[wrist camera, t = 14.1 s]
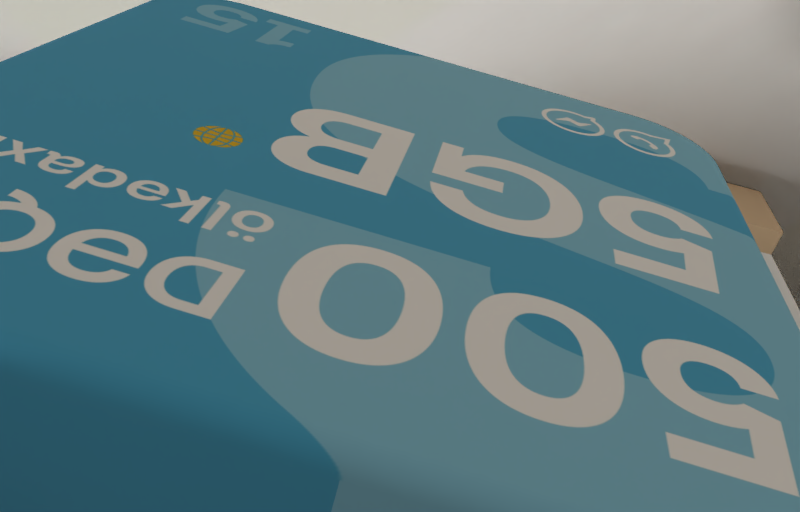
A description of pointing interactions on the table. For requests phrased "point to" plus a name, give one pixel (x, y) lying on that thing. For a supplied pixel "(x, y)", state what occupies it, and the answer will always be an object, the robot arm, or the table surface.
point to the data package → (367, 287)
